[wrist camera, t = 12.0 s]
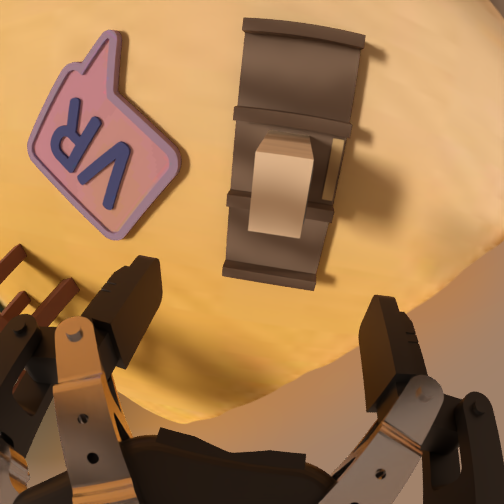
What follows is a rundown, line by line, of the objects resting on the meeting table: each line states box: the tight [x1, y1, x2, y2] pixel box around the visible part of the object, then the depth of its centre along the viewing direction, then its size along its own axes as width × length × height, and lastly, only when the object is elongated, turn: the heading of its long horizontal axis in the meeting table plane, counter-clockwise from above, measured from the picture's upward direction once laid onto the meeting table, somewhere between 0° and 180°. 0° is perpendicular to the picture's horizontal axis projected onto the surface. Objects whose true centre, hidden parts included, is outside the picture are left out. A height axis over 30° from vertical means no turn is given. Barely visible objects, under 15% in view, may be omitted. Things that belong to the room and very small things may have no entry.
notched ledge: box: [222, 18, 366, 291], centre depth 27 cm, size 26×10×2 cm, turn 174°
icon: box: [27, 30, 181, 240], centre depth 29 cm, size 19×2×20 cm
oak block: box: [248, 130, 314, 238], centre depth 23 cm, size 6×4×9 cm, turn 175°
